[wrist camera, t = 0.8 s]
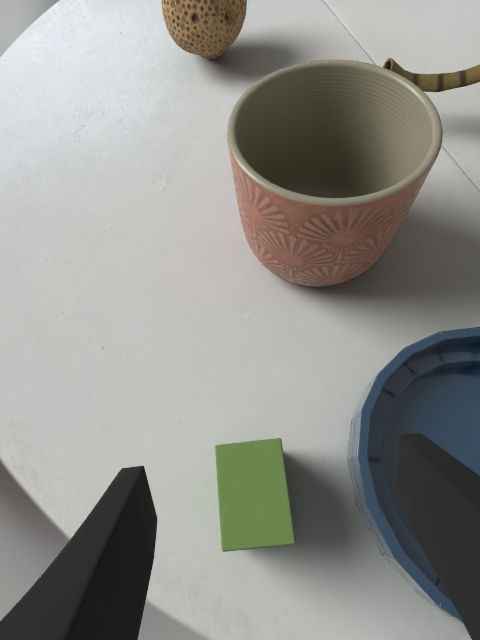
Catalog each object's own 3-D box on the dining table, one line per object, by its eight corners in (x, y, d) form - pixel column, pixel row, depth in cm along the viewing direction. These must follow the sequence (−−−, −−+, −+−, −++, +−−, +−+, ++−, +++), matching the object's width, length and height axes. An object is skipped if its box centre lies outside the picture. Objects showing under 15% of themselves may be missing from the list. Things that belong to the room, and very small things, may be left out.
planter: (355, 329, 28) (400, 236, 19) (213, 266, 32) (187, 160, 22) (410, 211, 33) (470, 86, 23) (280, 167, 36) (283, 41, 26)
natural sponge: (249, 81, 42) (242, -33, 33) (169, 86, 43) (141, -25, 34) (250, 33, 46) (244, -81, 37) (177, 38, 46) (154, -73, 38)
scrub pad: (291, 536, 23) (295, 544, 18) (231, 542, 23) (222, 552, 19) (279, 449, 25) (281, 437, 21) (225, 455, 25) (215, 445, 21)
